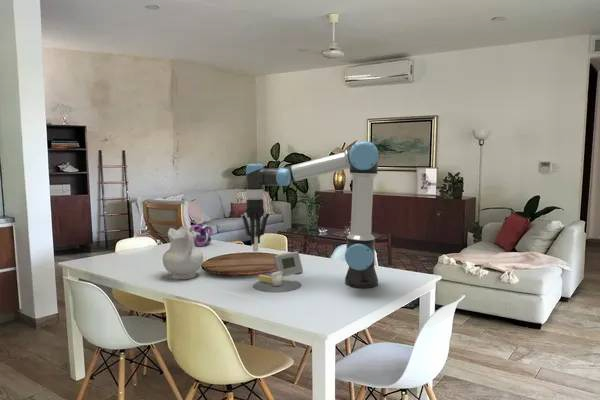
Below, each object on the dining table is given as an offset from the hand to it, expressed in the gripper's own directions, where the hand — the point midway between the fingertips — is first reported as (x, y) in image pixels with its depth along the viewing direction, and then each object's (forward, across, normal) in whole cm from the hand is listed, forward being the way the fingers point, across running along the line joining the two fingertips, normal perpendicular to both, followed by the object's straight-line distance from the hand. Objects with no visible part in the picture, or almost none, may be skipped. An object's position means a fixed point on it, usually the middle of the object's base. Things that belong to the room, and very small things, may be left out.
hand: (255, 250), depth 207 cm
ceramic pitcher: (+17, +26, -31) cm, 44 cm away
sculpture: (+17, +1, -110) cm, 111 cm away
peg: (+15, -7, +1) cm, 17 cm away
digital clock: (+17, -22, -13) cm, 31 cm away
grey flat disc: (+16, -8, +5) cm, 19 cm away
